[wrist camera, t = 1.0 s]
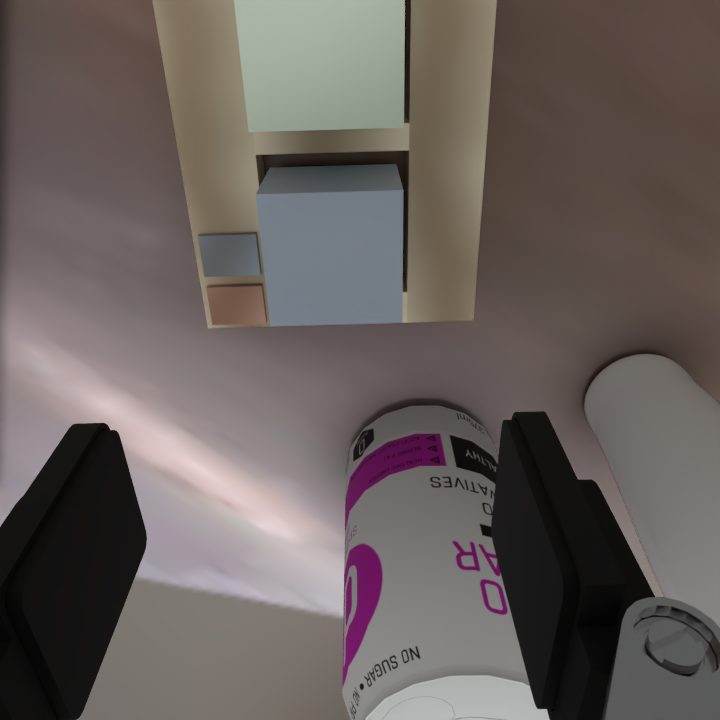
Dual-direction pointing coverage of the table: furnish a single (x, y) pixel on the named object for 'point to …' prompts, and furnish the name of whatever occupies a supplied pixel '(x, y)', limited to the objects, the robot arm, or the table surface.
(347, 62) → the key sage
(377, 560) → the supplement can
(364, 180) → the key slate
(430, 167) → the keypad base
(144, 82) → the table surface
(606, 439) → the drinking glass
